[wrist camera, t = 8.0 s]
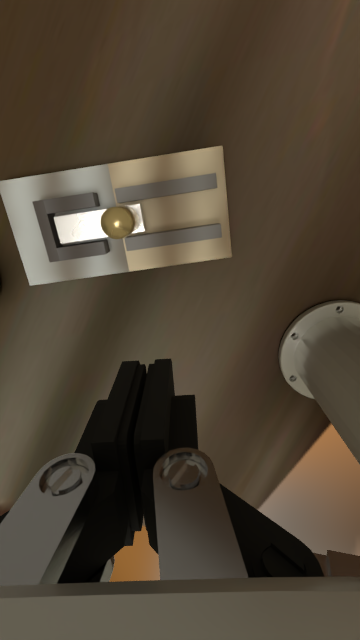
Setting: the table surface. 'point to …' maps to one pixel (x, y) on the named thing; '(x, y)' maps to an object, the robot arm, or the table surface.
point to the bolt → (101, 224)
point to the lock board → (116, 191)
